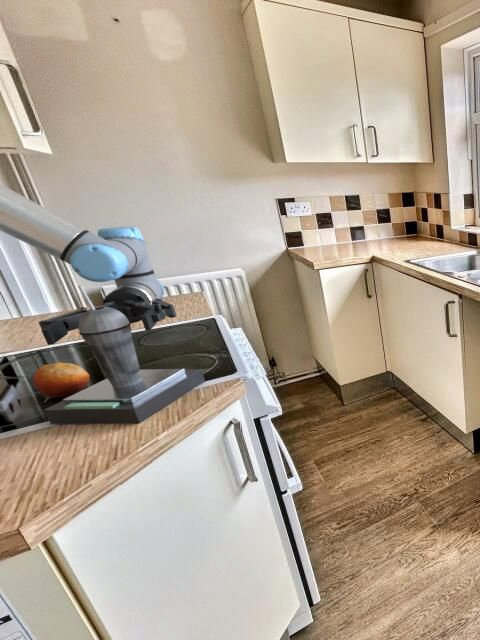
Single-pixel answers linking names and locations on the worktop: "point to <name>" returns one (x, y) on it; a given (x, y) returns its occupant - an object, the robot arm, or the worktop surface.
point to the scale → (125, 412)
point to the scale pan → (126, 388)
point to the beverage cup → (111, 343)
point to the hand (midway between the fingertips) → (98, 330)
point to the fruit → (60, 380)
